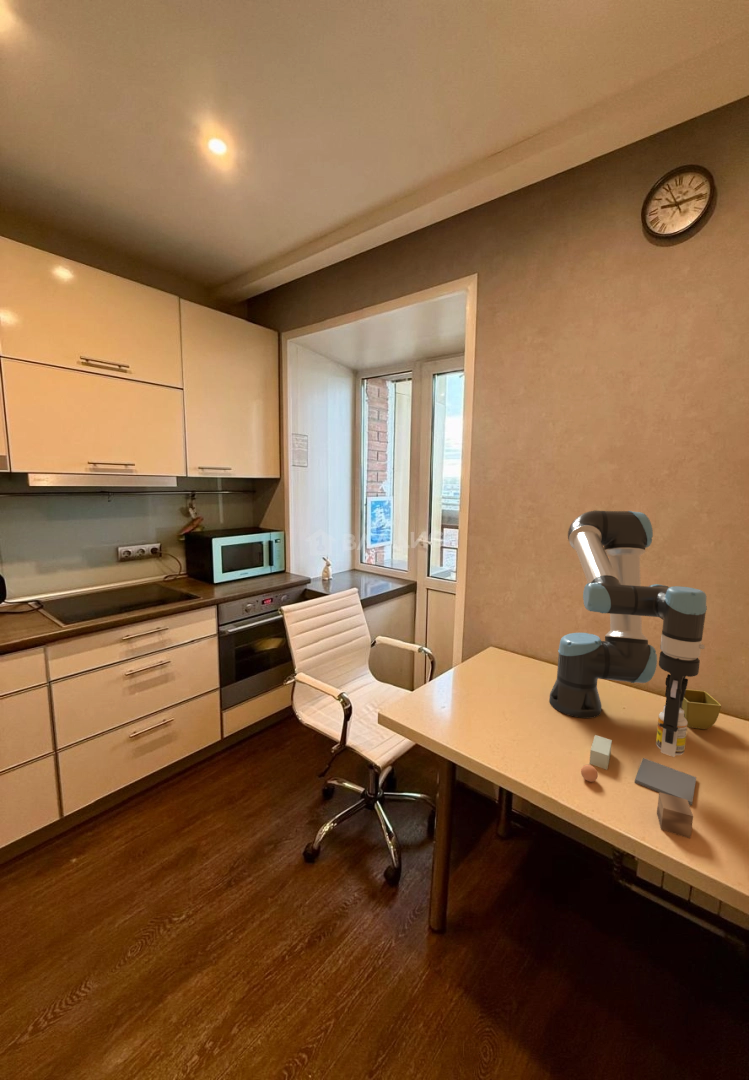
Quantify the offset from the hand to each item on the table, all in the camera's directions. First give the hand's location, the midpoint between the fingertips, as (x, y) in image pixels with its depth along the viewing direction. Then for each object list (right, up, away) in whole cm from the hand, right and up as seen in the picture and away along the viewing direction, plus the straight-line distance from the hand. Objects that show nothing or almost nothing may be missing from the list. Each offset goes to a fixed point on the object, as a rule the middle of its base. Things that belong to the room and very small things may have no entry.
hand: (669, 747), depth 100 cm
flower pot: (+26, -6, +26) cm, 37 cm away
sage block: (-11, -8, +10) cm, 17 cm away
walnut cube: (-8, -10, -12) cm, 18 cm away
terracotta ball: (-19, -7, +1) cm, 20 cm away
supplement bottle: (0, -1, 0) cm, 1 cm away
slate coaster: (0, -9, +1) cm, 9 cm away
